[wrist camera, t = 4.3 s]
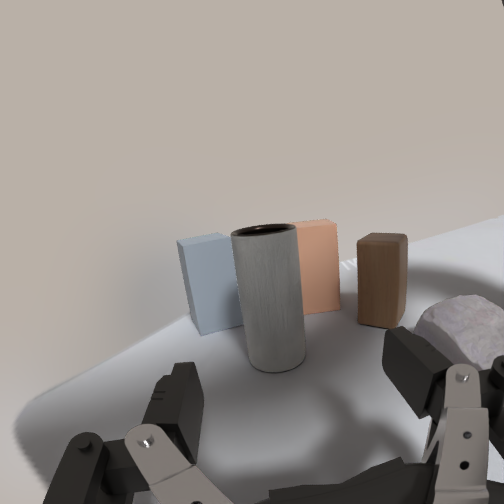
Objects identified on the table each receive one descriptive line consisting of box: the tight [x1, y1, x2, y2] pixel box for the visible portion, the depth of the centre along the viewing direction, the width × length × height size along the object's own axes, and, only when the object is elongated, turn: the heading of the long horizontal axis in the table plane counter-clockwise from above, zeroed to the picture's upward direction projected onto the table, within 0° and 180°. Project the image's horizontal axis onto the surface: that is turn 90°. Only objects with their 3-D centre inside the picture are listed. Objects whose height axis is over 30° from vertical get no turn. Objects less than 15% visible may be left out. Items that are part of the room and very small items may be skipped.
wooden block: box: [357, 233, 408, 329], centre depth 24 cm, size 4×4×8 cm
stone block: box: [414, 294, 504, 371], centre depth 14 cm, size 12×5×10 cm
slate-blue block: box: [177, 233, 243, 336], centre depth 29 cm, size 4×4×9 cm
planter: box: [231, 224, 305, 372], centre depth 21 cm, size 4×4×10 cm
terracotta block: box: [287, 219, 340, 315], centre depth 30 cm, size 4×4×9 cm
